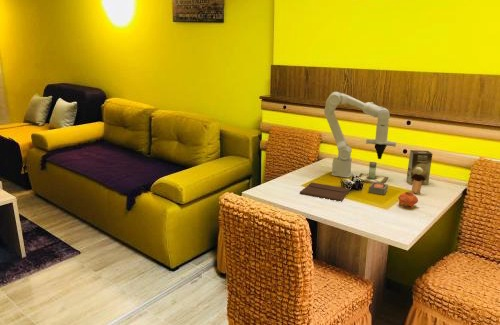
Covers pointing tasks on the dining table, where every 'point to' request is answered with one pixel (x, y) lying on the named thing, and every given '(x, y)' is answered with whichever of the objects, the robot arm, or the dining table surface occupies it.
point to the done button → (378, 185)
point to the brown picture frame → (377, 179)
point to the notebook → (325, 191)
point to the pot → (408, 199)
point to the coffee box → (419, 164)
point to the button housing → (378, 189)
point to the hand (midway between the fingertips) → (379, 158)
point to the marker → (372, 170)
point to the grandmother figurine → (417, 181)
